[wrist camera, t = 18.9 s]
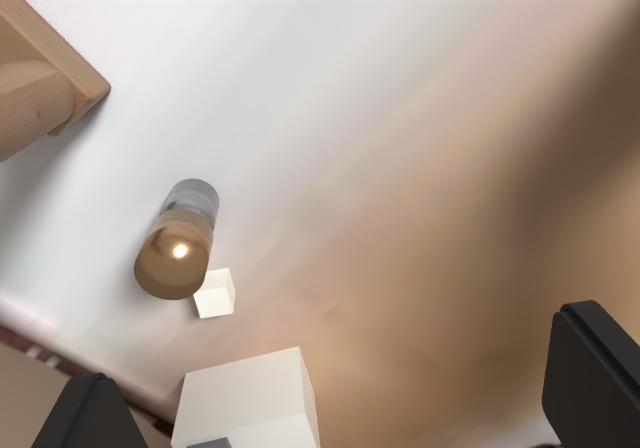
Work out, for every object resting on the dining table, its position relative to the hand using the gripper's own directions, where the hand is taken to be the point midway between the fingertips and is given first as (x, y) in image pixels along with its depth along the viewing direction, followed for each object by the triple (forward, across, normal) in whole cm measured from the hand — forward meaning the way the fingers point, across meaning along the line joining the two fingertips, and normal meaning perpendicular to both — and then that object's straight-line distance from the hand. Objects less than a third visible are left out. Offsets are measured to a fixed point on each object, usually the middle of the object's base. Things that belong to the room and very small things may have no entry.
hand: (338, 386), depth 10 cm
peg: (+22, +9, +5) cm, 24 cm away
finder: (+22, +8, +23) cm, 33 cm away
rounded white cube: (+22, +9, +12) cm, 27 cm away
